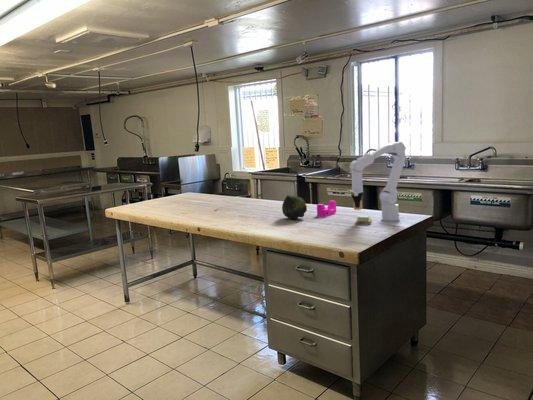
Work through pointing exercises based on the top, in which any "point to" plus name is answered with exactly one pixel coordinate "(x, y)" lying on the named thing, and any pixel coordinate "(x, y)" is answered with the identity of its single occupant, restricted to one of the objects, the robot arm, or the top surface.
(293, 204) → the squash
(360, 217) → the tower top
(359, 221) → the tower base
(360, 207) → the terracotta cylinder
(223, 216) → the top surface
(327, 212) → the toy block
